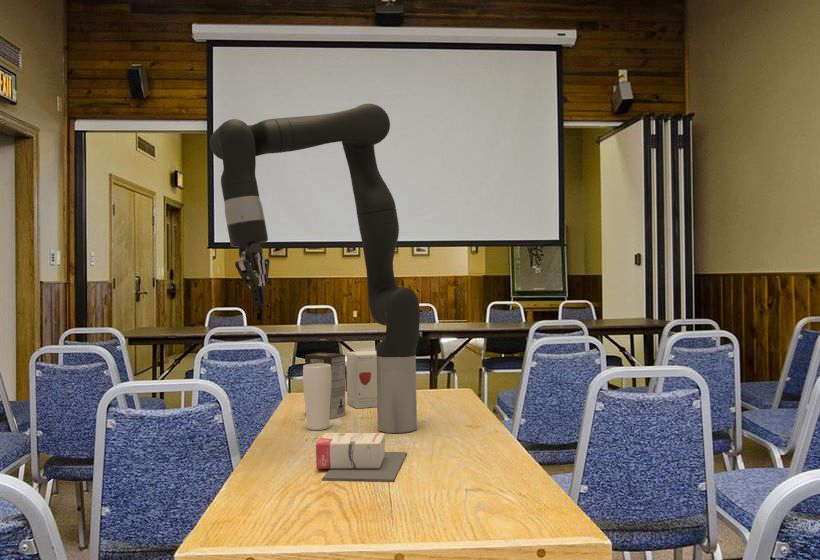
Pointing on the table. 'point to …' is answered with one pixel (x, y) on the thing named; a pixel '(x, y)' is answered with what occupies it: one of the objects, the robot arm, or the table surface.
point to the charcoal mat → (370, 470)
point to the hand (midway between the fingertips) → (260, 305)
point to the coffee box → (333, 380)
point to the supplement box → (362, 379)
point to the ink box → (350, 450)
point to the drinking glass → (317, 395)
